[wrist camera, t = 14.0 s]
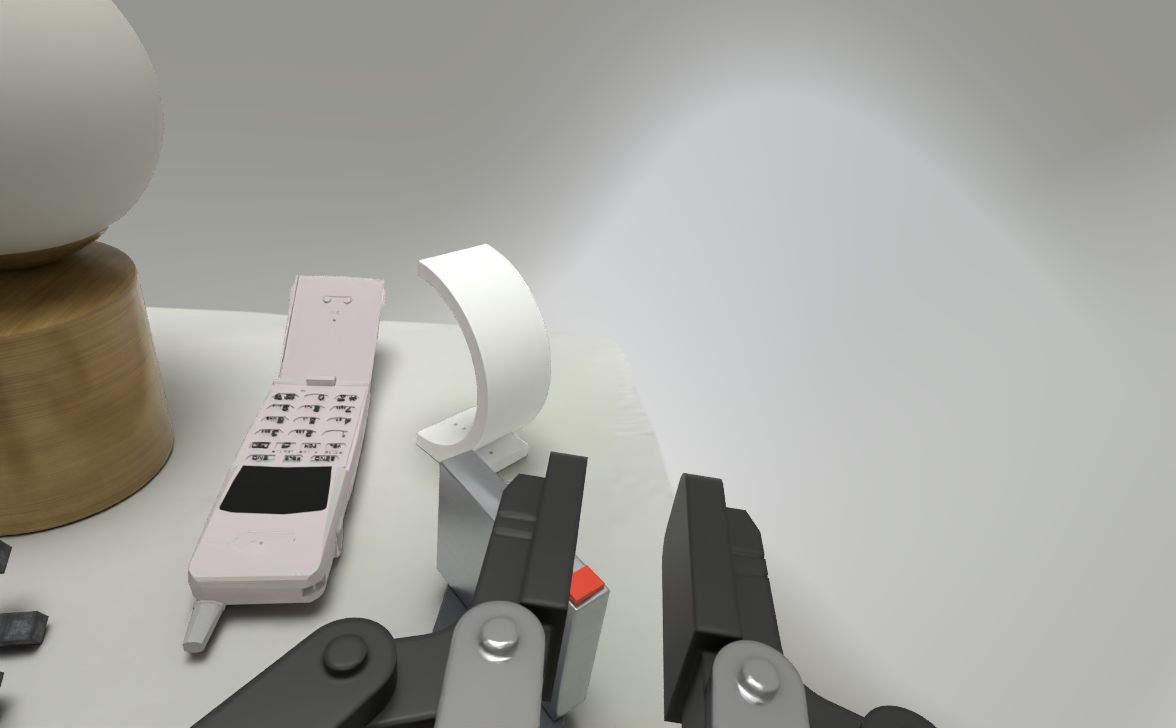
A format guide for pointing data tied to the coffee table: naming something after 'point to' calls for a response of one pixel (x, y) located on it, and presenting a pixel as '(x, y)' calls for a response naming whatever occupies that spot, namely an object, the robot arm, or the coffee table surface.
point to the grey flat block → (460, 556)
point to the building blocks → (19, 618)
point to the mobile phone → (293, 460)
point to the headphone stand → (491, 355)
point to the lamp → (74, 264)
